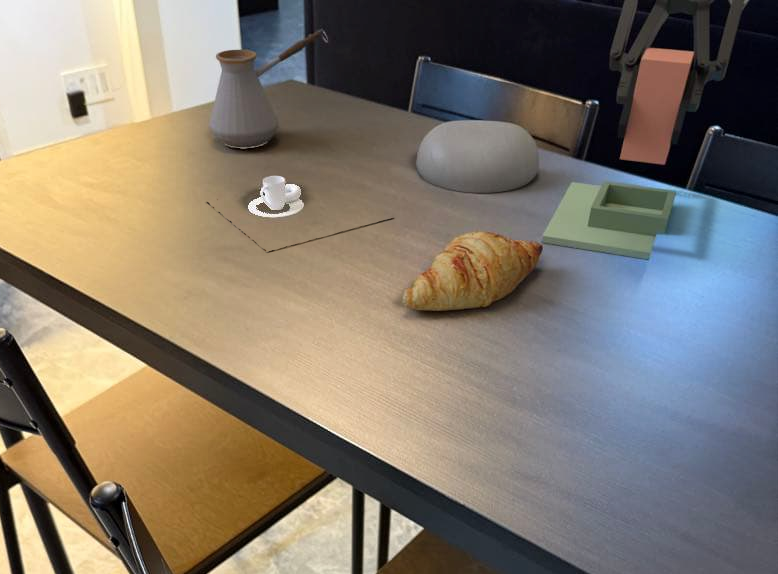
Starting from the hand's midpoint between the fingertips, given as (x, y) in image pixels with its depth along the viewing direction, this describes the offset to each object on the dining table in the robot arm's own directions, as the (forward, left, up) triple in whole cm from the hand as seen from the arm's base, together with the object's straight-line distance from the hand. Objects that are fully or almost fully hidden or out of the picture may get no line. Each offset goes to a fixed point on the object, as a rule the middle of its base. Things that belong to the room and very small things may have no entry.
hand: (648, 134), depth 83 cm
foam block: (0, -4, -3) cm, 5 cm away
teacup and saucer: (+46, -4, -16) cm, 49 cm away
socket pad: (+1, -16, -16) cm, 23 cm away
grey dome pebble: (+26, -27, -16) cm, 41 cm away
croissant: (+16, +10, -16) cm, 25 cm away
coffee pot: (+63, -30, -16) cm, 71 cm away
